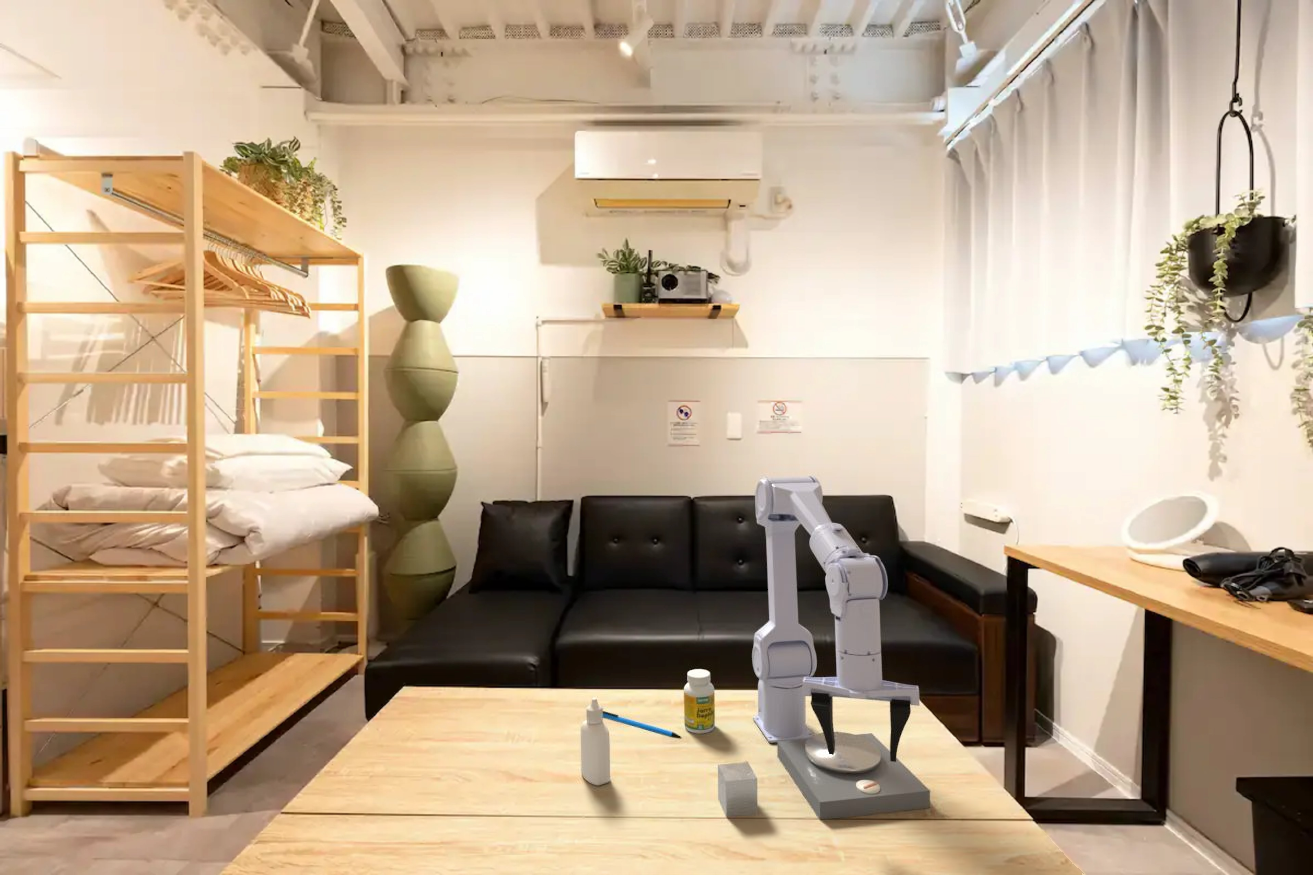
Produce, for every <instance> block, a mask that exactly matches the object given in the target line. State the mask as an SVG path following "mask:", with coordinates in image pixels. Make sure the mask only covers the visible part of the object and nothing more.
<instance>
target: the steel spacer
mask: <svg viewBox="0 0 1313 875" xmlns="http://www.w3.org/2000/svg"><path fill="white" fill-rule="evenodd" d="M717 799H718V803H719V804H720V807H721V809H722V811H723V814H724V815H725V818H731V817H741V816H749V815H758V777H757V776H756V774H755V771H754V770H753V769H752V767H751V765H750V763H749V762H748V761H743V762H733V763H722V764H717Z"/></svg>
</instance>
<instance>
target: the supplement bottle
mask: <svg viewBox="0 0 1313 875" xmlns="http://www.w3.org/2000/svg"><path fill="white" fill-rule="evenodd" d="M686 680H687V683H686V684H685V685H684V687H683V714H684V718H683V720H684V722H683V723H684V724H683V725H684V728H685V730H687V731H688V732H690V733H693V734H699V735H701V734H707V733H710V732H712V731H713V730H714V728H715V727H716V726H715V724H716V719H715V718H716V716H715V715H716V714H715V710H716V709H715V706H716V705H715V702H716V701H715V700H716V698H715V687H714V685H713V684H712V682H711V672H710V671H709V670H707V669H702V668H698V669H697V668H695V669H692V670H691V669H690V670H689V671H687V679H686Z"/></svg>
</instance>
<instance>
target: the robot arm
mask: <svg viewBox="0 0 1313 875" xmlns="http://www.w3.org/2000/svg"><path fill="white" fill-rule="evenodd" d="M754 499H755V500H754V501H755V502H754V503H755V505H754V506H755V518H756V523H757V525H760V526H762V527H764V530H765V539H766V542H765V543H766V563H767V565H766V566H767V567H766V568H767V589H768V590H767V595H768V615H769V616H768V617H769V620H768V621H767V622H766V623H765V624H764V625H763V626H761V627H760V628H759V629H758V630H757V631H756V632H755V633H754V636H753V648H752V650H751V651H752V653H751V658H752V659H751V660H752V667H753V671H754V673H755V675H756V677H757V678H758V679H759V680H758V684H757V699H758V700H757V714H755V715H753V716H752V719H753V721H754V722H755V724H756V725H757V726H758V728H759V729H760V731H761V732H762V734H763V736H764V737H765V739H766V740H767V742H769V744H770V743H771V744H774V743H777V742H779V741H790V740H801V739H809V738H810V737H812V736H813V735H814V734H813V732H812V731H811V730H810V729H809V728H808V726H807V724H806V720H807V719H806V718H807V717H806V714H807V711H806V710H807V709H806V706H807V705H806V700H807V698H806V697H810V698H811V699H810V700H811V701H810V706H811V708H812V711H813V713H814V714H815V716H816V718H817V720H818V722H819V725H820V727H821V730H822V733H824V736H825V739H826V743H827V748H828V754H830V755H834V751H835V738H834V732H835V731H834V709H833V707H834V706H833V702H834V701H833V700H834V698H846V699H856V700H865V701H866V700H867V701H868V700H869V701H879V702H880V701H881V702H889V715H890V718H889V719H890V720H889V721H890V722H889V723H890V738H889V740H890V741H889V751H890V761H892V762H896V758H897V754H898V748H899V743H900V740H901V737H902V734H903V732H904V729H905V726H906V724H907V722H908V720H909V718H910V717H911V716H910V715H911V706H916V707H917V706H918V707H919V706H920V688H919V686H918V685H913V684H905V683H901V682H900V683H899V682H894V681H889V680H888V681H887V680H883V671H882V670H883V668H882V666H883V665H882V642H881V641H882V640H881V637H882V636H881V613H880V612H881V611H880V601H881V600H883V599H885V597H886V595H887V591H888V586H889V584H888V583H889V582H888V575H887V574H888V573H887V570H886V568H885V565H884V564H883V562H882V561H881V560H882V559H881V558H880V557H879V556H877V555H871V554H870V553H869V552H866V553H865V552H863V550H861V548H860V547H859V545H858V544H857V543H856V541H855V540H854V539H853V537H852V536H851V534H850V533H849V532H848V531H847V529H846V528H845V527H844V526H843V525H842V524H841V523H837V522H833V521H832V520H831V518H830V517H829V516H830V515H829V514H828V512H827V511H826V509H825V507H824V505H823V488H822V485H821V483H820V481H819V480H818V479H817V477H816V476H814V475H809V476H799V477H796V476H795V477H763V476H762V477H761V478H760V479H759V481H758V482H757V484H756V488H755V490H754ZM800 525H801V526H802V527H803V528H804V529H805V530H806V531H807V533H808V534H809V536H810V538H809V547H810V550H811V552H812V554H814V556H815V558H816V560H817V561H818V563H819V565H820V566H821V568H822V569H823V571H824V573H825V574H826V575H825V578H824V579H825V586H826V591H827V594H828V597H829V608H830V612H831V614H833V615H834V628H835V629H834V634H835V658H836V659H835V662H836V665H835V666H836V676H826V677H824V676H822V677H819V676H818V677H813V676H814V675H815V672H816V670H817V664H818V663H817V662H818V660H817V659H818V658H817V653H816V650H815V646H814V644H815V643H814V638H813V635H812V633H811V632H810V631H809V630H808V629H807V628H806V627H804V626H803V625H802V624H800V623H799V607H798V606H799V604H798V588H797V587H798V582H797V580H798V579H797V562H796V560H797V559H796V537H795V533H796V530H797V529H798V528H799V526H800ZM833 697H834V698H833Z"/></svg>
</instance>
